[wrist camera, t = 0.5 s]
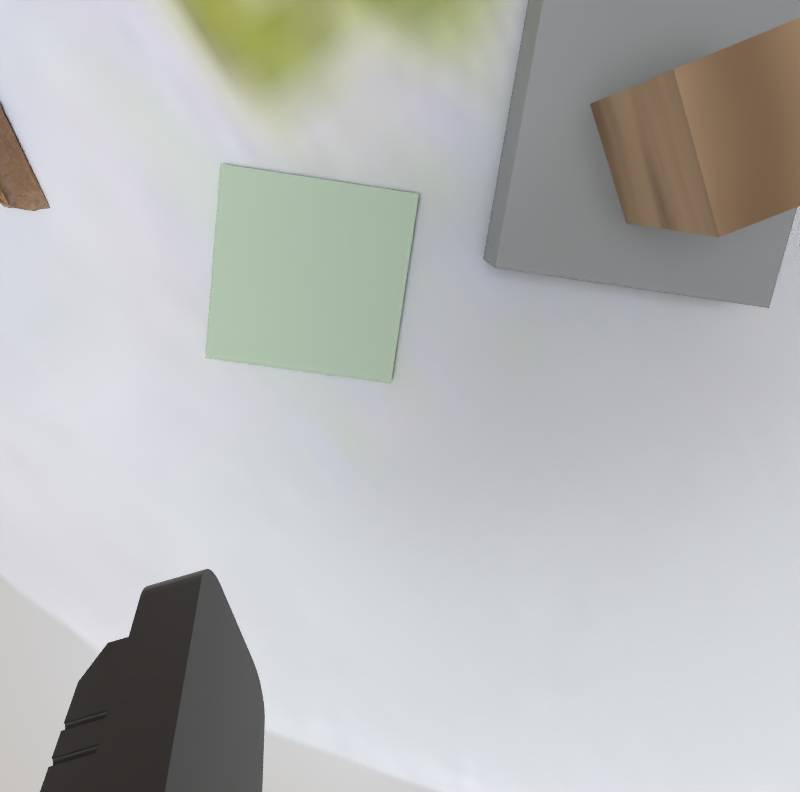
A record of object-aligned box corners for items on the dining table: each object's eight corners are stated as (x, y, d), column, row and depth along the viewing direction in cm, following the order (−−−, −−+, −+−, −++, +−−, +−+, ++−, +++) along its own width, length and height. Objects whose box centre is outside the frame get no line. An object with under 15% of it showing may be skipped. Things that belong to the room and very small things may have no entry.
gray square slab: (532, -21, 32) (551, -49, 28) (799, 24, 33) (854, 3, 29) (483, 258, 35) (495, 267, 31) (727, 294, 36) (769, 307, 32)
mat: (223, 164, 34) (220, 163, 33) (418, 193, 34) (418, 193, 34) (208, 355, 36) (205, 357, 36) (390, 380, 37) (390, 383, 36)
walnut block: (710, 53, 29) (847, -3, 21) (742, 177, 30) (883, 172, 22) (589, 103, 30) (673, 69, 21) (626, 223, 31) (719, 237, 22)
